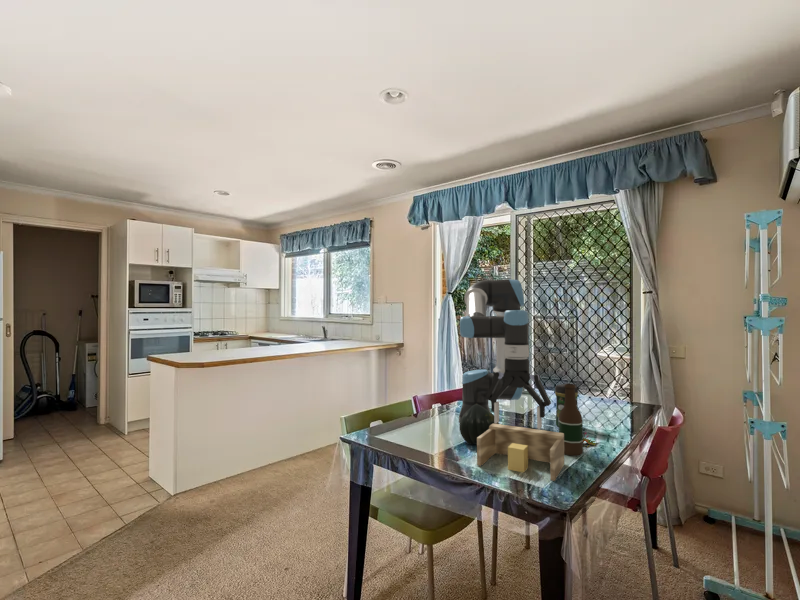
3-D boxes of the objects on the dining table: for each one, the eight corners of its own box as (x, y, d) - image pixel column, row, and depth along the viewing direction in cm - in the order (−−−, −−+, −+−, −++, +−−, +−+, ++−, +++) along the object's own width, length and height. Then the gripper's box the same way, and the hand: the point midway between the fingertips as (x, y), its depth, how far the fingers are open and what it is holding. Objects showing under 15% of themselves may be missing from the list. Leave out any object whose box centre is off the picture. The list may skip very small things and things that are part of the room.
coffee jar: (565, 422, 186) (565, 381, 187) (582, 426, 180) (581, 383, 180) (552, 426, 181) (551, 383, 182) (568, 430, 174) (567, 386, 175)
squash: (490, 438, 146) (496, 400, 155) (450, 433, 153) (459, 398, 163) (499, 456, 155) (505, 419, 164) (462, 451, 162) (469, 416, 171)
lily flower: (589, 451, 149) (588, 438, 149) (559, 443, 159) (558, 431, 159) (606, 445, 156) (605, 432, 157) (576, 437, 166) (576, 426, 166)
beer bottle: (571, 457, 142) (570, 387, 142) (554, 450, 149) (553, 383, 150) (588, 454, 145) (586, 385, 145) (570, 447, 152) (569, 382, 153)
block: (508, 469, 131) (507, 447, 131) (512, 464, 135) (512, 443, 136) (523, 472, 129) (523, 449, 129) (528, 467, 133) (527, 445, 133)
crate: (477, 465, 134) (476, 434, 135) (493, 451, 148) (492, 423, 148) (554, 480, 122) (554, 446, 122) (564, 463, 136) (563, 433, 136)
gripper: (475, 357, 136) (476, 422, 135) (555, 361, 123) (556, 433, 123) (483, 355, 143) (484, 417, 142) (559, 358, 130) (561, 427, 129)
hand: (517, 425), depth 132 cm, fingers open, 13 cm apart
